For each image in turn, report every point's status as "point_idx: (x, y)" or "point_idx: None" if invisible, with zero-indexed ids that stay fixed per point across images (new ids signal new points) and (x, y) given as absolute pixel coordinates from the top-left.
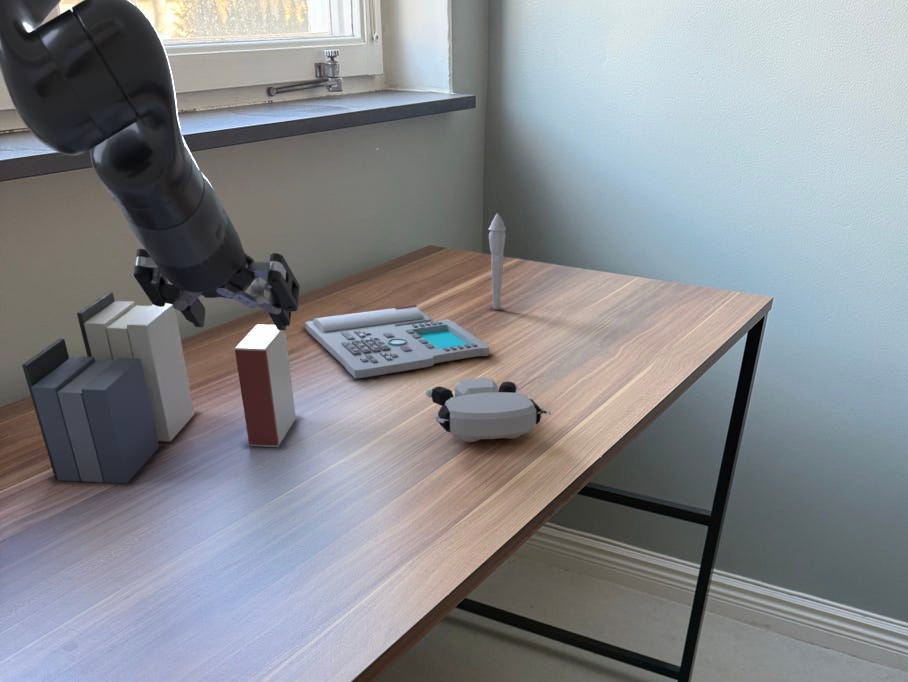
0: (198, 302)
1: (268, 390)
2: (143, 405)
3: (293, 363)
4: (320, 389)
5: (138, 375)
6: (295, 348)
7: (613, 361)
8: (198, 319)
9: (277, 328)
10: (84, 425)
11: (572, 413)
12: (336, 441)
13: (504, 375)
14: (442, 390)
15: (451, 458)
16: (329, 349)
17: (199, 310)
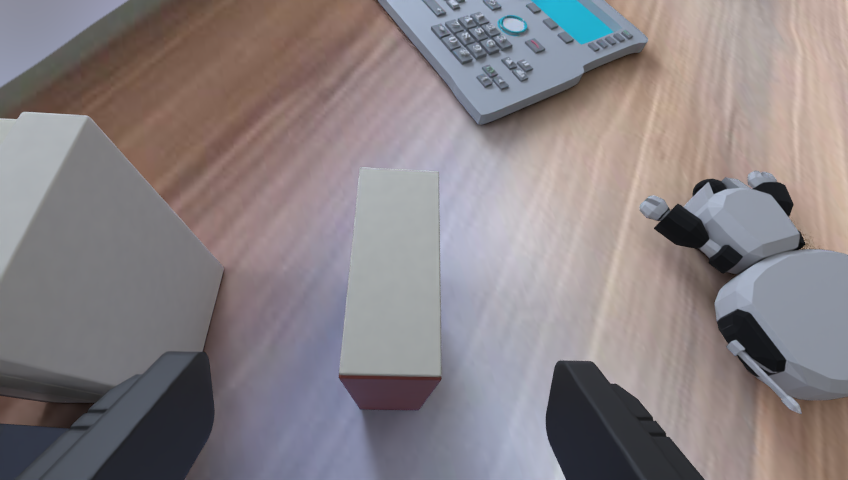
0: (156, 422)
1: (425, 396)
2: None
3: (363, 72)
4: (430, 158)
5: (20, 472)
6: (354, 26)
7: (804, 63)
8: (182, 472)
9: (556, 453)
10: None
11: (845, 226)
12: (521, 367)
13: (686, 105)
14: (691, 225)
15: (754, 426)
16: (411, 36)
17: (175, 429)
